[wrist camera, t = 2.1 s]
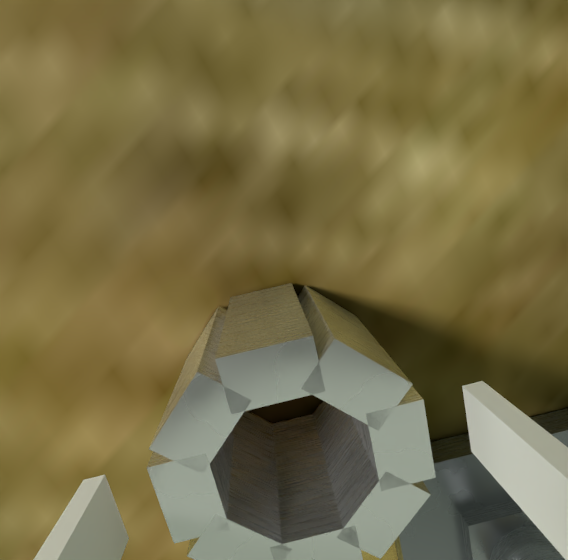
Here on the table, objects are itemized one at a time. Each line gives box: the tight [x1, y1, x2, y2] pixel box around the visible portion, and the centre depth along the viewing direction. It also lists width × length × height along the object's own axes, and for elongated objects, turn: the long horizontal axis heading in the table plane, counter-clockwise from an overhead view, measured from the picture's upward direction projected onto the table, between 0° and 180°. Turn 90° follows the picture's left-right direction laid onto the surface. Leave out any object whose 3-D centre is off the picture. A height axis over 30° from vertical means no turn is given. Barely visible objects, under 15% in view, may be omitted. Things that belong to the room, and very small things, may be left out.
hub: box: [147, 283, 436, 560], centre depth 16 cm, size 9×9×7 cm
